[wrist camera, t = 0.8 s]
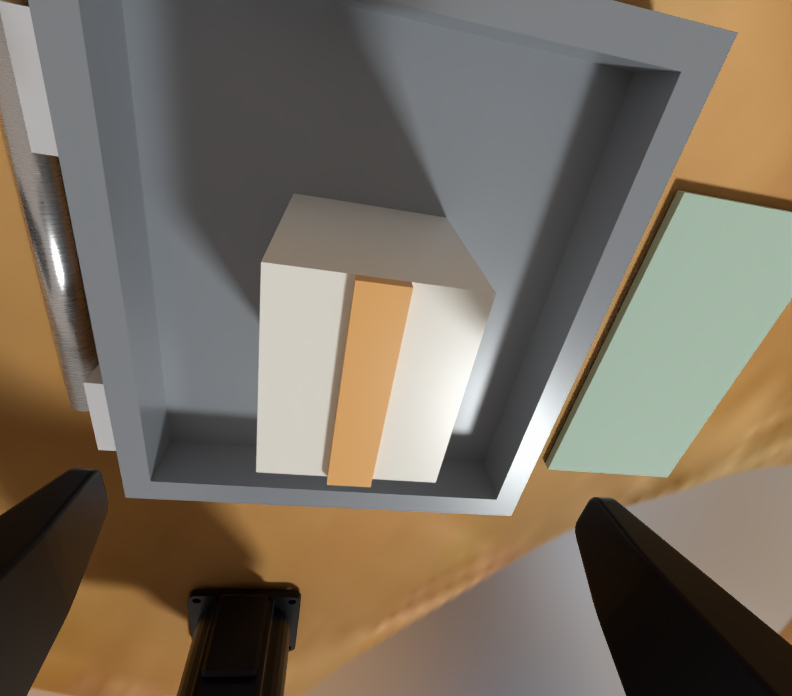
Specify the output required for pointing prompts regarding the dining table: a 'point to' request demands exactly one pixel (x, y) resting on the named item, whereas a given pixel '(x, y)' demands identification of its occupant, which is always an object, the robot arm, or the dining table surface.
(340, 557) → the dining table surface
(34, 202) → the stay rod
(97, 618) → the dining table surface
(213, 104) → the grey flat square tray
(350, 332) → the block
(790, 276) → the pad
